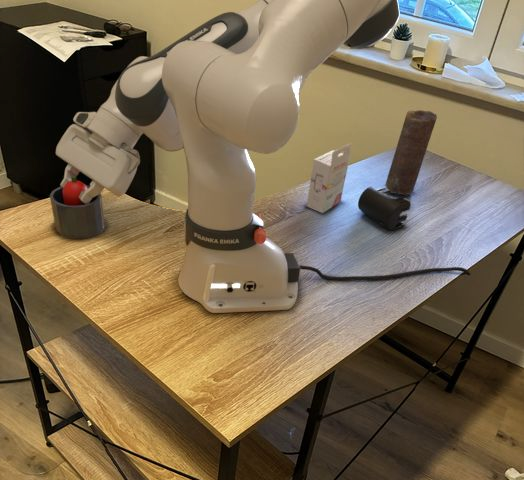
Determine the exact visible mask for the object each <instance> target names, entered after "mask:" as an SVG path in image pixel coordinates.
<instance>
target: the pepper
mask: <svg viewBox="0 0 524 480" xmlns="http://www.w3.org/2000/svg"><path fill="white" fill-rule="evenodd" d="M71 179H72V180H71V181H69V182H67V183H66V184H65V185H64V187H63V191H62V193H63V199H64V205H70V206H79V205H86V204H85V203H84V202H82V201H81V200H79V199H78V196H79V195H80V193H81V191H84V192H85V191H86V190H87V189H88V188H87V186H88V185H87V184H85V183H84V182H82V181H80V180H77V176H76V175H75V176H71ZM86 185H87V186H86ZM89 203H90V202H89Z"/></svg>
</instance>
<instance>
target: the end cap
mask: <svg viewBox="0 0 524 480" xmlns="http://www.w3.org/2000/svg"><path fill="white" fill-rule="evenodd" d="M392 194H393V193H392V191H390V190H388V189H387V187H386V186H383V187H379V188H374V187H372V186H368V187H367V188H365V189H364V190H363V191H362V193H361V194H360V196H359V198H358V201H357V207H358V210H360V212H361V213H362V214H364V215H365V216H367V217H368V218H370V219H372V220H373V221H375V222H377V223H378V224H379V225H381V226H383V227H384V228H386V229H387V230H389V231H396V230H398V229H401V228H403V227H404V225H405V224H404V223H403V222H405V221H407V218H408V214H403V213H404V212H407V211H410V209H411V206H412V203H411V202H410V201H409V200H408V199H406V198H404V197H403V196H400V197H396V198H395V197H394V198H393V197H390V196H388V195H392Z"/></svg>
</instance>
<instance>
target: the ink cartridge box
mask: <svg viewBox="0 0 524 480" xmlns="http://www.w3.org/2000/svg"><path fill="white" fill-rule="evenodd" d="M351 149H352V143H348V144H345V145H343V146H341V147H340V148H338V149H336V150H334V149H332V150H330V151H328V152H326V153H324V154H322V155H320V156H318V157H316V158H313V164H312V169H311V175H310V181H309V188H308V194H307V200H306V201H307V202H306V207H307V208H309V209H312V210H314V211H316V212H318V213H321V214H324V213H326V212H327V211H329V210H330V209H332V208H334V206H336V205H338V204H339V203H341V200H342V196H343V191H344V186H345V182H346V176H347V173H348V167H349V163H350V159H351Z"/></svg>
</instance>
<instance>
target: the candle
mask: <svg viewBox="0 0 524 480" xmlns="http://www.w3.org/2000/svg"><path fill="white" fill-rule="evenodd" d="M437 119H438V116H437V114H436V113H434V112H433V111H431V110H421V109H418V110H412V109H411V110H408V111H407V112H406V114H405V118H404V120H403V124H402V127H401V131H400V134H399V137H398V141H397V144H396V148H395V151H394V155H393V158H392V161H391V164H390V168H389V170H388V174H387V177H386V181H385V186H384V187H385V188H387V189H388V190H390V191H392V194H399V195H404V196H405V195H409V194H412V193H413V192H414V190H415V187H416V184H417V181H418V177H419V174H420V171H421V168H422V165H423V161H424V159H425V155H426V153H427V149H428V146H429V143H430V140H431V137H432V134H433V131H434V128H435V125H436V123H437Z"/></svg>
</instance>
